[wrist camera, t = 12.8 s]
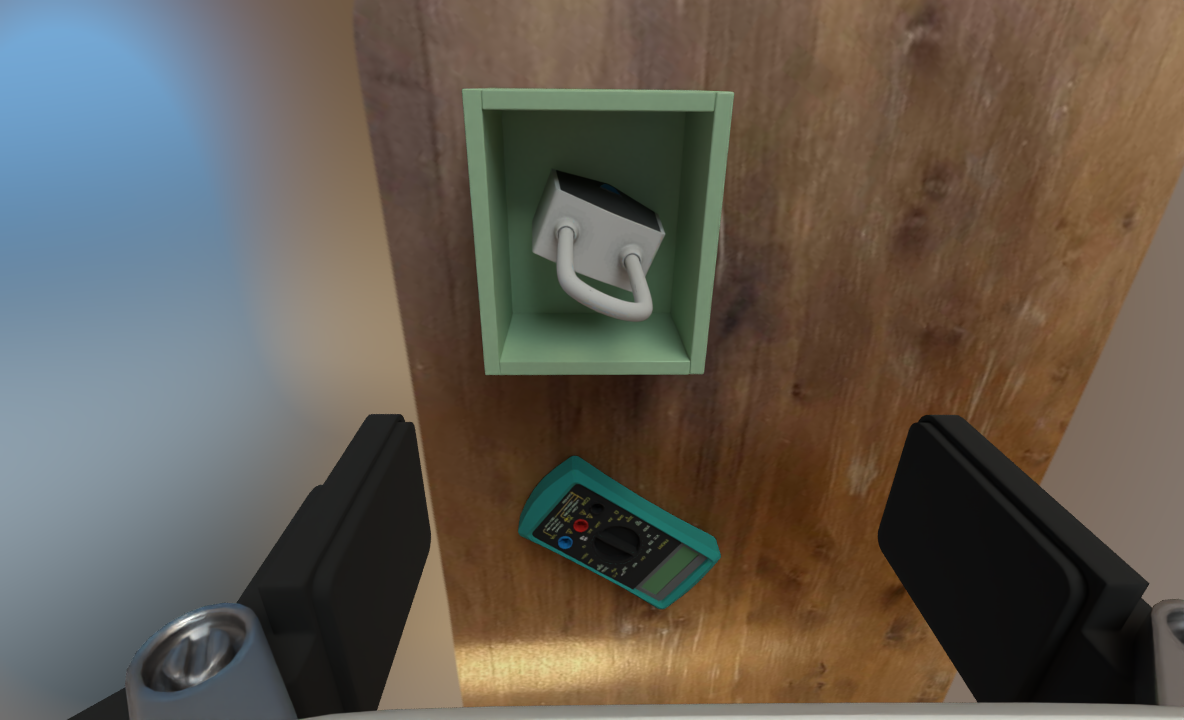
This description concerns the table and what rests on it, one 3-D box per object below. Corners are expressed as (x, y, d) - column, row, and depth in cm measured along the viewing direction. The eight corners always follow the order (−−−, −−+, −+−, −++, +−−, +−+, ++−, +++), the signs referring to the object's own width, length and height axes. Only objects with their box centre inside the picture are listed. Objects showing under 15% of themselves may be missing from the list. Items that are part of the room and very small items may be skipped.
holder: (699, 90, 31) (734, 91, 24) (679, 320, 37) (704, 374, 30) (487, 88, 31) (461, 88, 24) (502, 320, 37) (485, 375, 30)
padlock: (661, 206, 33) (721, 290, 20) (631, 270, 35) (667, 389, 21) (554, 160, 32) (539, 216, 18) (529, 229, 33) (497, 326, 20)
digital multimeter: (567, 445, 41) (566, 470, 39) (718, 535, 45) (727, 563, 43) (512, 509, 44) (508, 537, 41) (660, 589, 48) (665, 619, 45)
